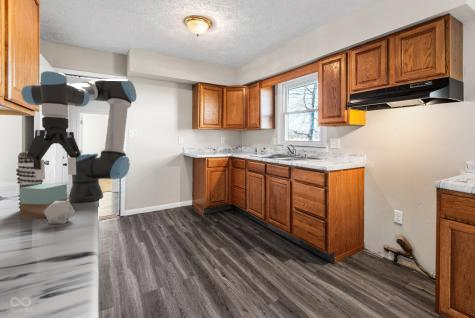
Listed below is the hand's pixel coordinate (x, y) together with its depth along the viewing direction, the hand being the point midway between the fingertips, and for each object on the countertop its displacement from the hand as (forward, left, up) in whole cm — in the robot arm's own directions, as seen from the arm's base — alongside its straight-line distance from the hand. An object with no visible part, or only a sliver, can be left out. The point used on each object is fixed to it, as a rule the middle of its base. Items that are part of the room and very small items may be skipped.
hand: (57, 176), depth 89 cm
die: (0, 0, -17) cm, 17 cm away
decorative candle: (-14, -26, -17) cm, 34 cm away
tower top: (-8, -14, -11) cm, 20 cm away
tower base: (-8, -14, -17) cm, 24 cm away
